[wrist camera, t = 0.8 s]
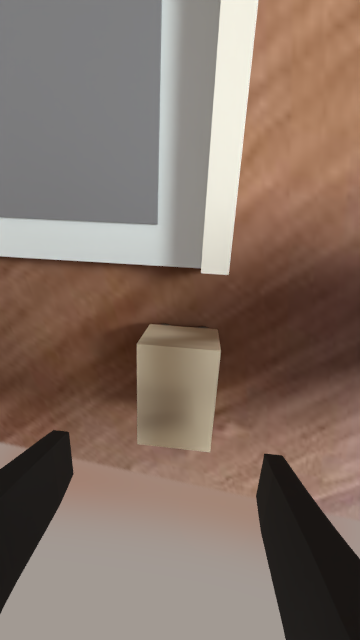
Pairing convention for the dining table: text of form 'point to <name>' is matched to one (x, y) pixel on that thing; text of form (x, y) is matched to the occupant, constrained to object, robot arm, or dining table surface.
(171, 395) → the cream rectangular block
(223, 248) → the dock
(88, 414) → the dining table surface
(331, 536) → the robot arm
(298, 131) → the dining table surface
